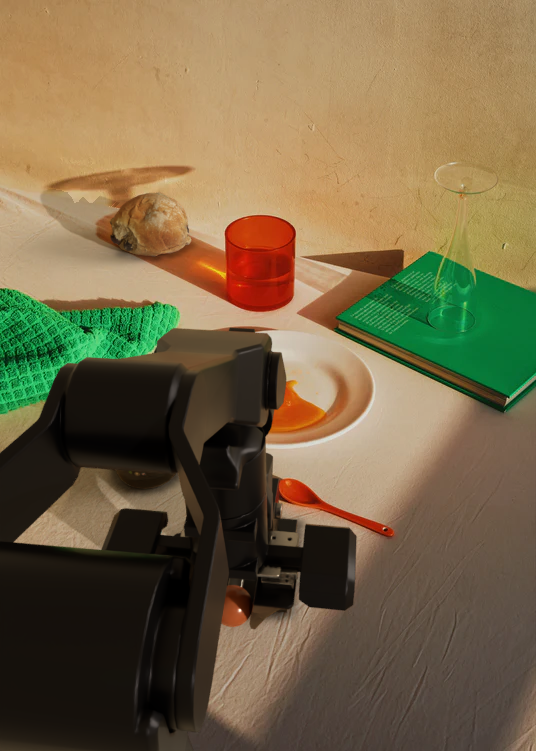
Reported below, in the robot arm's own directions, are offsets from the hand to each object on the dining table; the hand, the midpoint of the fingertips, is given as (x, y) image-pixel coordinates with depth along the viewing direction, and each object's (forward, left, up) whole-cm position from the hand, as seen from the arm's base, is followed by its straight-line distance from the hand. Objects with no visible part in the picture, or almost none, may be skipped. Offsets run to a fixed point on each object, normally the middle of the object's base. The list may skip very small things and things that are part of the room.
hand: (234, 621), depth 60 cm
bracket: (+8, -3, -3) cm, 9 cm away
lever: (+4, -1, +2) cm, 5 cm away
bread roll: (+75, +1, -4) cm, 75 cm away
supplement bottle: (+23, +5, -4) cm, 24 cm away
